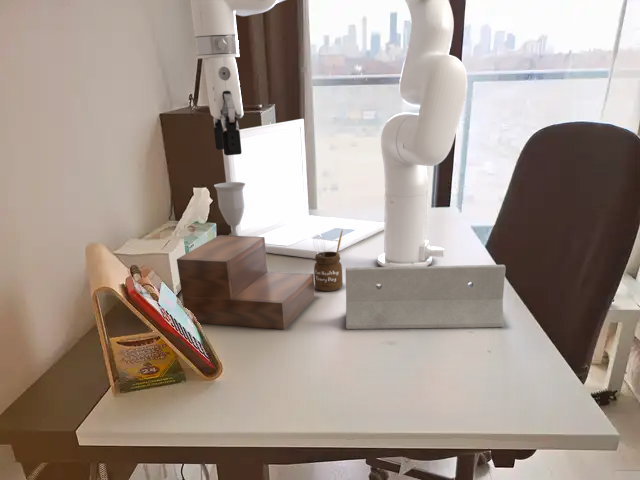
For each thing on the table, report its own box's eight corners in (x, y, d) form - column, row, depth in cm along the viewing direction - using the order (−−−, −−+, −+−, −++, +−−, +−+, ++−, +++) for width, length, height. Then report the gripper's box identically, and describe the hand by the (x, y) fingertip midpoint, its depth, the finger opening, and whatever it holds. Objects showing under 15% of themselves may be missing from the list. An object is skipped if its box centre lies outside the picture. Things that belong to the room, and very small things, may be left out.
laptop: (323, 260, 157) (318, 134, 143) (232, 248, 170) (219, 132, 156) (387, 229, 181) (388, 119, 168) (304, 221, 195) (298, 118, 181)
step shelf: (314, 297, 133) (311, 238, 127) (284, 329, 118) (279, 264, 112) (225, 292, 138) (219, 235, 132) (185, 321, 124) (176, 259, 118)
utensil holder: (317, 282, 141) (315, 226, 135) (346, 283, 140) (344, 226, 134) (312, 291, 136) (309, 233, 130) (341, 292, 135) (340, 233, 129)
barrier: (346, 329, 117) (344, 274, 112) (347, 315, 123) (346, 262, 118) (503, 327, 114) (508, 271, 109) (496, 313, 121) (501, 259, 116)
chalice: (257, 259, 160) (250, 182, 151) (245, 266, 155) (237, 187, 146) (230, 257, 162) (222, 181, 153) (218, 265, 157) (208, 187, 148)
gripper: (247, 46, 109) (257, 155, 118) (229, 48, 124) (239, 145, 132) (203, 48, 108) (216, 159, 116) (190, 50, 122) (202, 148, 131)
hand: (228, 151), depth 124 cm, fingers open, 9 cm apart
